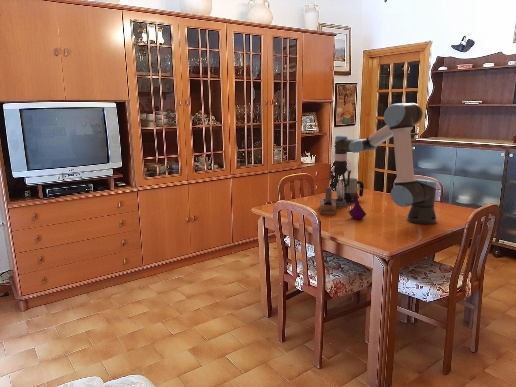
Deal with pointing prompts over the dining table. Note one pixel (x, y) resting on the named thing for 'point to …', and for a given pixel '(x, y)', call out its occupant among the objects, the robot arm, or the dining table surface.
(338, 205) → the socket block
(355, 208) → the perfume bottle
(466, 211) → the dining table surface
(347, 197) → the milk frother
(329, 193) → the black peg
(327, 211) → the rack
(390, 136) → the robot arm
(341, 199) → the steel peg
